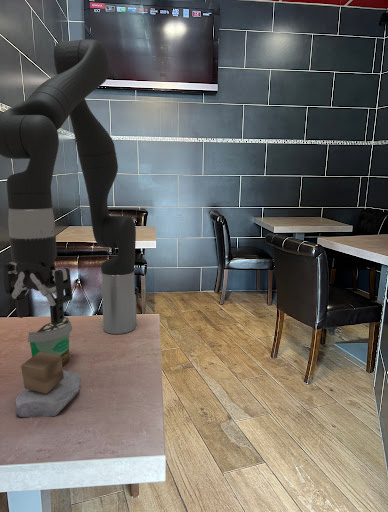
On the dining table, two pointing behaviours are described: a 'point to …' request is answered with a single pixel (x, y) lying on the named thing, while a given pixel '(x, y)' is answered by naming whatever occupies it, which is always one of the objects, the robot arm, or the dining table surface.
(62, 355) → the food container
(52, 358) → the walnut block
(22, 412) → the stone block
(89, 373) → the dining table surface
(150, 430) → the dining table surface
